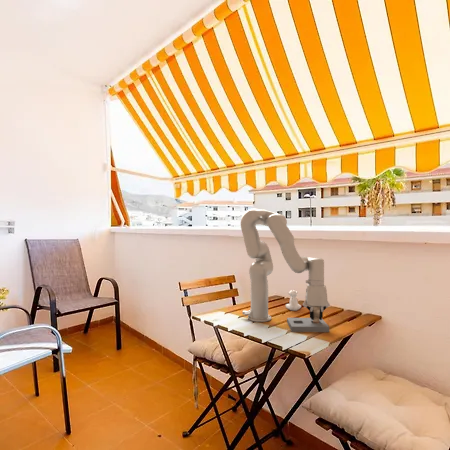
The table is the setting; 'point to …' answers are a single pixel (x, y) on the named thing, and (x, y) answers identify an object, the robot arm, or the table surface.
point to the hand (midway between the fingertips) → (316, 318)
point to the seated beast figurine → (293, 301)
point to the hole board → (306, 325)
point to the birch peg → (316, 314)
